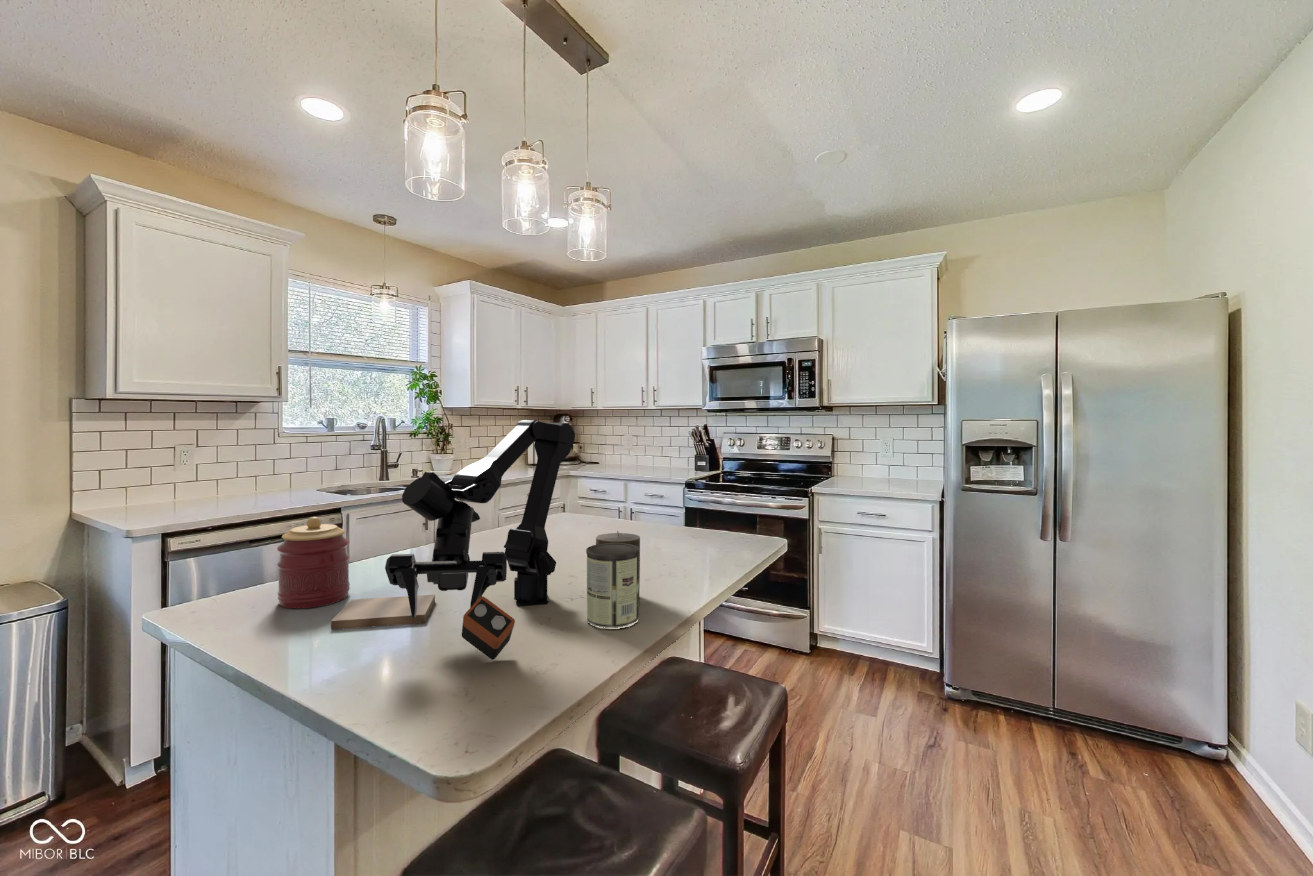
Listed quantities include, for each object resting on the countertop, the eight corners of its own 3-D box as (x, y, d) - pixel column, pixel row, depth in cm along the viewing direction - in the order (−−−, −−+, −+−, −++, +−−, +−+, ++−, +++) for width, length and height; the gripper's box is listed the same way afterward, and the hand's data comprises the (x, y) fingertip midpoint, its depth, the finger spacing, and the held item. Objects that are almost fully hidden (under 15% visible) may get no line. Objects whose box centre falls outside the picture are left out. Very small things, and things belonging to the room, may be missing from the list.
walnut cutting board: (435, 601, 115) (435, 594, 114) (424, 622, 103) (424, 614, 103) (351, 607, 111) (351, 599, 111) (331, 629, 99) (330, 621, 99)
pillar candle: (629, 609, 111) (631, 536, 111) (586, 603, 115) (588, 532, 114) (645, 595, 121) (647, 528, 120) (605, 590, 124) (606, 525, 123)
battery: (493, 661, 87) (498, 641, 80) (460, 636, 88) (462, 614, 81) (510, 639, 90) (517, 617, 83) (478, 615, 91) (482, 591, 84)
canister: (361, 589, 122) (360, 511, 122) (328, 610, 109) (327, 523, 109) (302, 589, 122) (301, 511, 121) (262, 610, 109) (261, 522, 108)
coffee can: (602, 607, 112) (603, 540, 112) (647, 615, 108) (648, 545, 107) (575, 625, 103) (575, 551, 102) (623, 634, 99) (624, 557, 98)
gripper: (508, 555, 104) (504, 634, 93) (403, 557, 100) (386, 641, 89) (508, 521, 96) (503, 604, 86) (393, 523, 92) (374, 609, 81)
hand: (442, 615), depth 86 cm, fingers open, 8 cm apart
